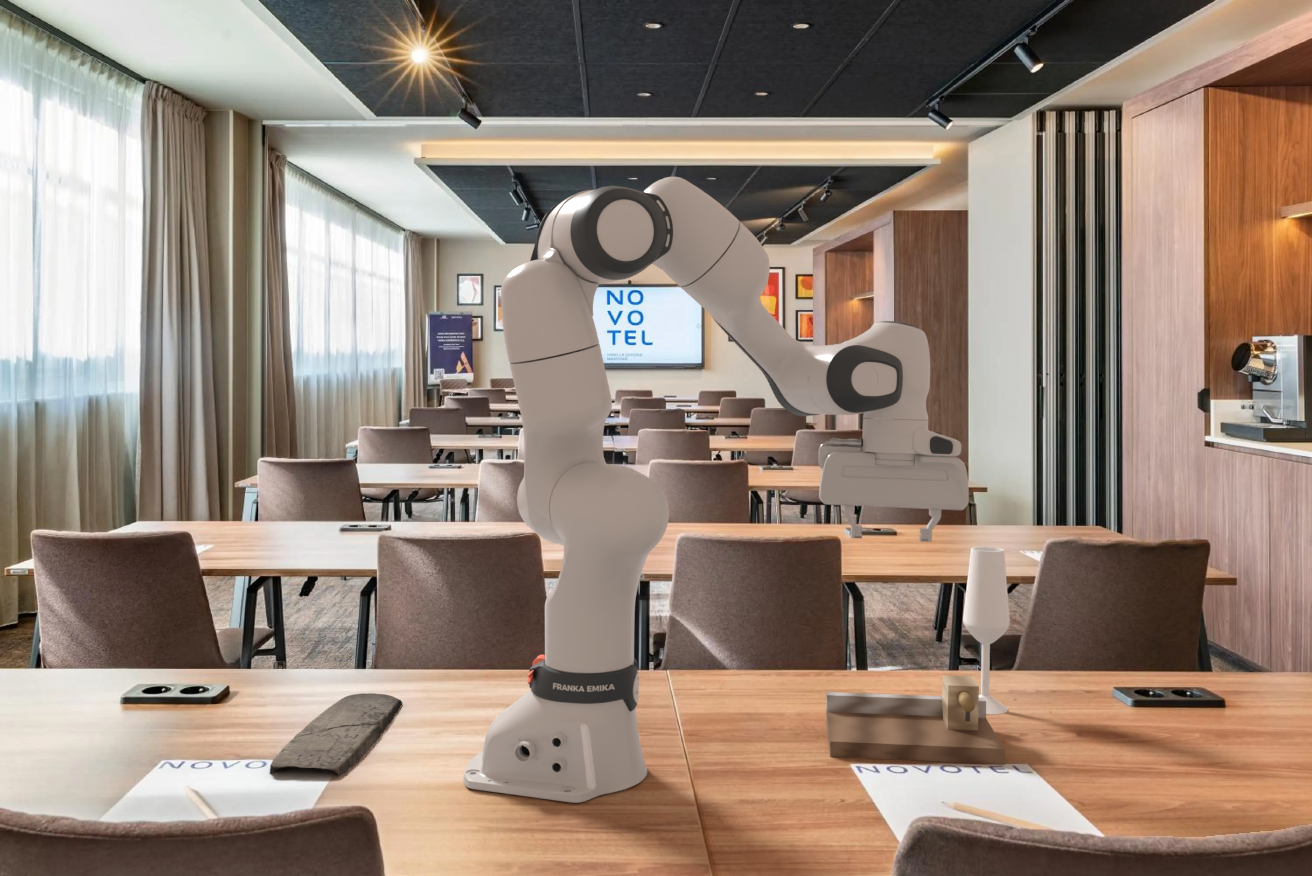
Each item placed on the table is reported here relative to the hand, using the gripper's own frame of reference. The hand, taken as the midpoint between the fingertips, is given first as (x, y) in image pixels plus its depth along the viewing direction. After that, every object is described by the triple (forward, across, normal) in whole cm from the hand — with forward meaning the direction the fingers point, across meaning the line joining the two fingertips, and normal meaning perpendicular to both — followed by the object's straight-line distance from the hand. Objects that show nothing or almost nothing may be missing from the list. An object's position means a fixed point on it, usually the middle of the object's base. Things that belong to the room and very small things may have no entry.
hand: (890, 539), depth 144 cm
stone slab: (+30, -74, -12) cm, 81 cm away
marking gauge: (+25, +10, -3) cm, 27 cm away
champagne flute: (+26, +16, +14) cm, 34 cm away
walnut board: (+27, +3, -4) cm, 27 cm away
